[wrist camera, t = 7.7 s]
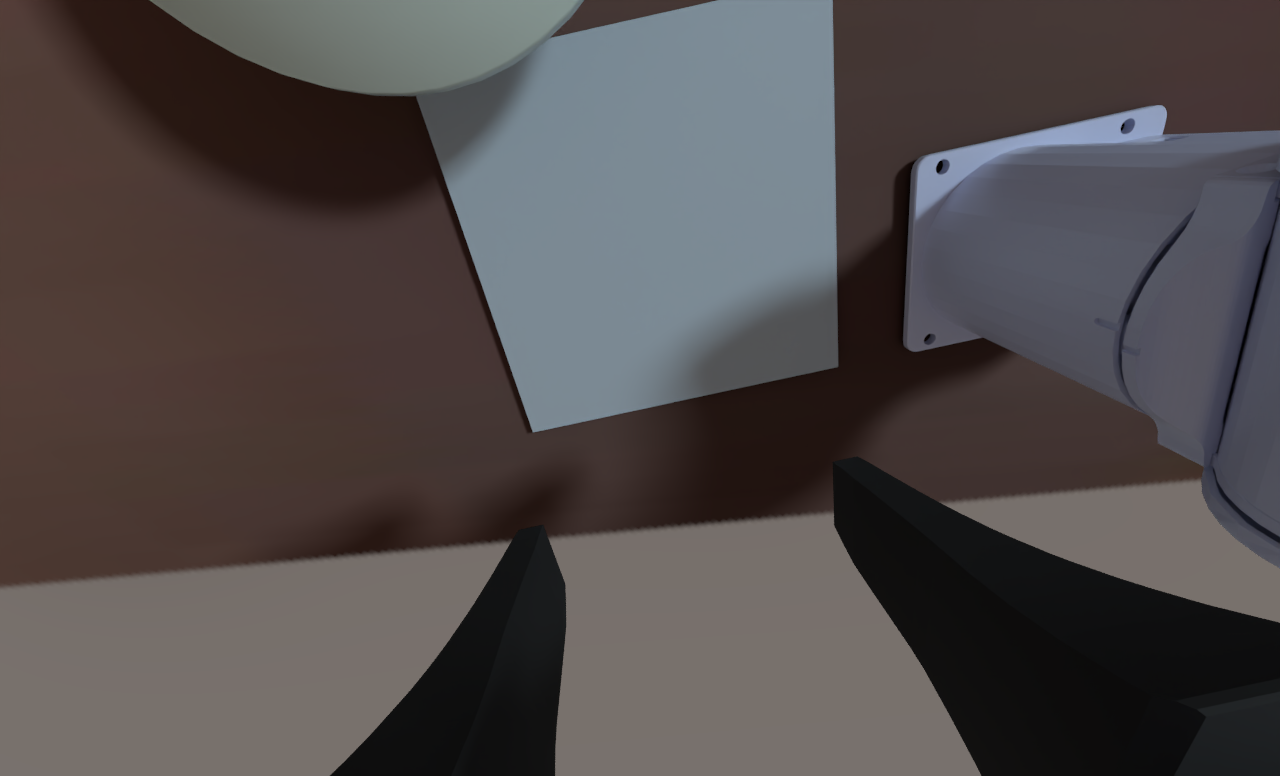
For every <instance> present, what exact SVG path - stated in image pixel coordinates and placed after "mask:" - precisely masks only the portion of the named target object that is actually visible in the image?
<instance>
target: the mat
mask: <svg viewBox="0 0 1280 776" xmlns="http://www.w3.org/2000/svg"><path fill="white" fill-rule="evenodd" d="M416 98H417V101H418V104H419V106H420V109H421V112H422V115H423V118H424V121H425V124H426V127H427V129H428V132H429V135H430V138H431V141H432V144H433V147H434V150H435V152H436V155H437V158H438V161H439V164H440V167H441V170H442V173H443V175H444V178H445V181H446V184H447V187H448V190H449V193H450V196H451V198H452V201H453V204H454V207H455V210H456V213H457V216H458V219H459V221H460V224H461V227H462V230H463V233H464V236H465V239H466V242H467V244H468V247H469V250H470V253H471V256H472V259H473V262H474V264H475V267H476V270H477V273H478V276H479V279H480V282H481V285H482V287H483V290H484V293H485V296H486V299H487V302H488V305H489V308H490V310H491V313H492V316H493V319H494V322H495V325H496V328H497V331H498V333H499V336H500V339H501V342H502V345H503V348H504V351H505V354H506V356H507V359H508V362H509V365H510V368H511V371H512V374H513V377H514V379H515V382H516V385H517V388H518V391H519V394H520V397H521V400H522V402H523V405H524V408H525V411H526V414H527V417H528V420H529V423H530V425H531V428H532V431H533V432H538V431H542V430H547V429H552V428H556V427H561V426H565V425H570V424H575V423H579V422H584V421H589V420H593V419H598V418H603V417H607V416H612V415H617V414H621V413H626V412H631V411H635V410H640V409H645V408H649V407H654V406H659V405H663V404H668V403H673V402H677V401H682V400H687V399H691V398H696V397H701V396H705V395H710V394H715V393H719V392H724V391H729V390H733V389H738V388H743V387H747V386H752V385H757V384H761V383H766V382H771V381H775V380H780V379H784V378H789V377H794V376H798V375H803V374H808V373H812V372H817V371H822V370H826V369H831V368H836V367H838V316H837V253H836V189H835V125H834V61H833V0H718V1H713V2H709V3H705V4H700V5H696V6H691V7H687V8H682V9H678V10H673V11H669V12H664V13H660V14H656V15H651V16H647V17H642V18H638V19H633V20H629V21H624V22H620V23H615V24H611V25H606V26H602V27H598V28H593V29H589V30H584V31H580V32H575V33H571V34H566V35H562V36H557V37H553V38H549V39H548V40H547V41H546V42H545V43H544V44H543V45H541V46H540V47H538V48H537V49H536V50H534V51H533V52H531V53H530V54H529V55H527V56H526V57H524V58H523V59H521V60H520V61H519V62H517V63H516V64H514V65H513V66H511V67H509V68H507V69H505V70H503V71H501V72H499V73H497V74H495V75H493V76H491V77H489V78H487V79H484V80H482V81H480V82H476V83H473V84H470V85H467V86H463V87H460V88H457V89H454V90H451V91H446V92H439V93H432V94H425V95H418V96H416Z"/></svg>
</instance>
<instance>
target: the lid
mask: <svg viewBox="0 0 1280 776" xmlns="http://www.w3.org/2000/svg"><path fill="white" fill-rule="evenodd" d="M150 1H151V2H153V3H154V4H155V5H157V6H158V7H160V8H161V9H163V10H164V11H165V12H167V13H168V14H170V15H171V16H173V17H174V18H175V19H177V20H178V21H180V22H181V23H183V24H184V25H186V26H187V27H188V28H190V29H191V30H193V31H194V32H196V33H198V34H200V35H201V36H203V37H205V38H207V39H209V40H210V41H212V42H214V43H216V44H218V45H219V46H221V47H223V48H225V49H227V50H228V51H230V52H232V53H234V54H235V55H237V56H239V57H242V58H244V59H247V60H249V61H251V62H254V63H256V64H258V65H261V66H263V67H265V68H268V69H270V70H272V71H275V72H277V73H280V74H282V75H286V76H289V77H293V78H296V79H300V80H303V81H307V82H310V83H314V84H317V85H320V86H324V87H328V88H332V89H336V90H341V91H347V92H354V93H361V94H367V95H374V96H418V95H425V94H432V93H439V92H446V91H451V90H454V89H457V88H460V87H463V86H467V85H470V84H473V83H476V82H480V81H482V80H484V79H487V78H489V77H491V76H493V75H495V74H497V73H499V72H501V71H503V70H505V69H507V68H509V67H511V66H513V65H514V64H516V63H517V62H519V61H520V60H521V59H523V58H524V57H526V56H527V55H529V54H530V53H531V52H533V51H534V50H536V49H537V48H538V47H540V46H541V45H543V44H544V43H545V42H546V41H547V40H548V39H549V38H550V37H551V36H552V35H553V34H554V33H555V32H556V31H557V30H558V29H559V28H560V27H561V26H562V25H564V24H565V23H566V22H567V21H568V20H569V19H570V18H571V17H572V15H573V14H574V13H575V11H576V10H577V9H578V8H579V6H580V5H581V4H582V2H583V1H584V0H150Z"/></svg>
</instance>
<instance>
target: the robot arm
mask: <svg viewBox="0 0 1280 776" xmlns="http://www.w3.org/2000/svg"><path fill="white" fill-rule="evenodd" d="M1166 117H1167V111H1166V109H1165V108H1164V107H1163V106H1147V107H1143V108H1138V109H1134V110H1129V111H1125V112H1120V113H1115V114H1111V115H1106V116H1102V117H1097V118H1093V119H1088V120H1084V121H1079V122H1074V123H1070V124H1065V125H1061V126H1056V127H1052V128H1047V129H1043V130H1038V131H1033V132H1029V133H1024V134H1020V135H1015V136H1011V137H1006V138H1001V139H997V140H992V141H988V142H983V143H979V144H974V145H970V146H965V147H960V148H956V149H951V150H947V151H942V152H938V153H933V154H929V155H924V156H922V157H920V158H919V159H918V160H917V161H915V163H914V165H913V167H912V171H911V185H910V206H909V226H908V247H907V267H906V288H905V309H904V329H903V345H904V346H905V348H907V349H908V350H910V351H913V352H918V351H923V350H927V349H932V348H937V347H941V346H946V345H951V344H955V343H960V342H965V341H969V340H974V339H979V338H985V339H987V340H989V341H991V342H994V343H996V344H998V345H1000V346H1002V347H1004V348H1006V349H1008V350H1011V351H1013V352H1015V353H1017V354H1019V355H1021V356H1023V357H1025V358H1028V359H1030V360H1032V361H1034V362H1036V363H1038V364H1040V365H1042V366H1045V367H1047V368H1049V369H1051V370H1053V371H1055V372H1057V373H1059V374H1062V375H1064V376H1066V377H1068V378H1070V379H1072V380H1074V381H1076V382H1079V383H1081V384H1083V385H1085V386H1087V387H1089V388H1091V389H1093V390H1095V391H1098V392H1100V393H1102V394H1104V395H1106V396H1108V397H1110V398H1112V399H1115V400H1117V401H1119V402H1121V403H1123V404H1125V405H1127V406H1129V407H1132V408H1134V409H1136V410H1138V411H1140V412H1142V413H1144V414H1147V415H1149V416H1150V417H1151V418H1152V419H1153V420H1154V421H1155V423H1156V425H1157V429H1158V443H1159V444H1161V445H1163V446H1165V447H1167V448H1168V449H1170V450H1172V451H1174V452H1176V453H1178V454H1180V455H1182V456H1184V457H1186V458H1188V459H1190V460H1192V461H1194V462H1196V463H1198V464H1200V465H1202V466H1204V471H1203V475H1202V479H1201V482H1202V493H1203V496H1204V499H1205V501H1206V503H1207V506H1208V508H1209V510H1210V511H1211V512H1212V514H1213V515H1214V517H1215V518H1216V519H1217V521H1218V522H1219V523H1220V524H1221V525H1222V526H1223V527H1224V528H1225V529H1226V530H1227V531H1228V532H1229V533H1230V534H1231V535H1232V536H1233V537H1234V538H1236V539H1237V540H1238V541H1239V542H1241V543H1242V544H1243V545H1245V546H1246V547H1248V548H1249V549H1250V550H1252V551H1253V552H1254V553H1256V554H1257V555H1258V556H1260V557H1262V558H1263V559H1265V560H1267V561H1268V562H1270V563H1272V564H1273V565H1275V566H1277V567H1279V568H1280V131H1253V132H1225V133H1198V134H1170V135H1162V134H1163V130H1164V126H1165V122H1166ZM1123 123H1125V126H1124V128H1123V130H1122V131H1121V126H1122V124H1123ZM939 161H942V162H943V167H942V170H941V171H940V172H939V173H937V172H936V166H937V164H938V163H939ZM928 334H930V337H929V339H928V340H927V341H925V342H924V339H925V337H926V336H927V335H928ZM833 491H834V525H835V528H836V530H837V532H838V534H839V536H840V538H841V540H842V542H843V544H844V546H845V548H846V550H847V552H848V554H849V555H850V557H851V559H852V561H853V563H854V565H855V566H856V568H857V569H858V571H859V572H860V574H861V575H862V577H863V578H864V580H865V581H866V583H867V584H868V586H869V587H870V589H871V590H872V592H873V593H874V595H875V596H876V598H877V599H878V600H879V602H880V603H881V605H882V606H883V608H884V609H885V611H886V612H887V614H888V615H889V617H890V618H891V620H892V621H893V622H894V624H895V625H896V627H897V628H898V630H899V631H900V633H901V634H902V636H903V637H904V639H905V640H906V642H907V643H908V645H909V646H910V647H911V649H912V651H913V652H914V654H915V655H916V657H917V659H918V660H919V662H920V663H921V665H922V666H923V668H924V670H925V672H926V673H927V675H928V677H929V679H930V681H931V682H932V684H933V686H934V688H935V689H936V691H937V693H938V695H939V697H940V698H941V700H942V702H943V704H944V706H945V708H946V709H947V711H948V713H949V715H950V717H951V718H952V720H953V722H954V724H955V726H956V728H957V730H958V732H959V734H960V736H961V737H962V739H963V741H964V743H965V745H966V747H967V749H968V751H969V752H970V754H971V756H972V758H973V760H974V762H975V764H976V766H977V768H978V770H979V772H980V774H981V776H1280V623H1278V622H1275V621H1270V620H1266V619H1262V618H1258V617H1254V616H1250V615H1246V614H1242V613H1238V612H1234V611H1230V610H1226V609H1222V608H1218V607H1214V606H1210V605H1206V604H1203V603H1199V602H1196V601H1192V600H1188V599H1185V598H1182V597H1178V596H1175V595H1172V594H1168V593H1165V592H1162V591H1158V590H1155V589H1151V588H1148V587H1145V586H1142V585H1139V584H1135V583H1132V582H1129V581H1126V580H1123V579H1120V578H1116V577H1114V576H1110V575H1108V574H1105V573H1102V572H1099V571H1096V570H1093V569H1090V568H1088V567H1085V566H1082V565H1079V564H1077V563H1074V562H1071V561H1068V560H1065V559H1063V558H1060V557H1058V556H1055V555H1052V554H1050V553H1047V552H1045V551H1043V550H1040V549H1038V548H1035V547H1033V546H1031V545H1028V544H1026V543H1023V542H1021V541H1018V540H1016V539H1013V538H1011V537H1009V536H1007V535H1005V534H1002V533H1000V532H998V531H996V530H993V529H991V528H989V527H987V526H985V525H983V524H981V523H979V522H977V521H975V520H973V519H971V518H969V517H967V516H964V515H962V514H960V513H958V512H957V511H955V510H953V509H951V508H949V507H947V506H945V505H943V504H941V503H939V502H937V501H936V500H934V499H932V498H930V497H928V496H926V495H925V494H923V493H921V492H919V491H917V490H916V489H914V488H912V487H910V486H908V485H907V484H905V483H903V482H901V481H900V480H898V479H896V478H894V477H893V476H891V475H889V474H888V473H886V472H884V471H882V470H881V469H879V468H877V467H875V466H874V465H872V464H870V463H868V462H867V461H865V460H863V459H861V458H859V457H853V458H848V459H844V460H839V461H835V462H833ZM565 632H566V593H565V582H564V579H563V577H562V574H561V572H560V569H559V566H558V563H557V561H556V558H555V555H554V553H553V550H552V547H551V545H550V542H549V539H548V537H547V534H546V531H545V529H544V526H543V525H540V526H535V527H531V528H526V529H521V530H519V531H518V532H517V533H516V535H515V537H514V538H513V540H512V542H511V543H510V545H509V547H508V549H507V550H506V552H505V554H504V556H503V557H502V559H501V561H500V562H499V564H498V566H497V567H496V569H495V571H494V573H493V574H492V576H491V578H490V579H489V581H488V582H487V584H486V585H485V587H484V589H483V590H482V592H481V594H480V595H479V597H478V598H477V600H476V601H475V603H474V605H473V606H472V608H471V609H470V611H469V612H468V614H467V615H466V617H465V618H464V620H463V621H462V622H461V624H460V626H459V627H458V628H457V630H456V631H455V633H454V634H453V636H452V637H451V639H450V640H449V641H448V643H447V644H446V646H445V647H444V648H443V650H442V651H441V652H440V654H439V655H438V656H437V658H436V659H435V661H434V662H433V663H432V664H431V666H430V667H429V668H428V669H427V671H426V672H425V673H424V674H423V676H422V677H421V678H420V679H419V681H418V682H417V683H416V684H415V685H414V687H413V688H412V689H411V691H409V693H408V694H407V695H406V696H405V697H404V698H403V699H402V700H401V702H400V703H399V704H398V705H397V706H396V707H395V708H394V709H393V711H392V712H391V713H390V714H389V715H388V716H387V717H386V718H385V719H384V720H383V722H382V723H381V724H380V725H379V726H378V727H377V728H376V729H375V730H374V732H373V733H372V734H371V735H370V736H369V737H368V738H367V739H366V740H365V741H364V742H363V743H362V744H361V745H360V746H359V747H358V748H357V749H356V750H355V752H354V753H353V754H352V755H350V757H349V758H348V759H347V760H346V761H345V762H344V763H343V764H342V765H341V766H339V767H338V768H337V769H336V770H335V771H334V772H333V773H332V774H331V775H330V776H555V743H556V726H557V715H558V705H559V695H560V685H561V675H562V665H563V654H564V644H565Z"/></svg>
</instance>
